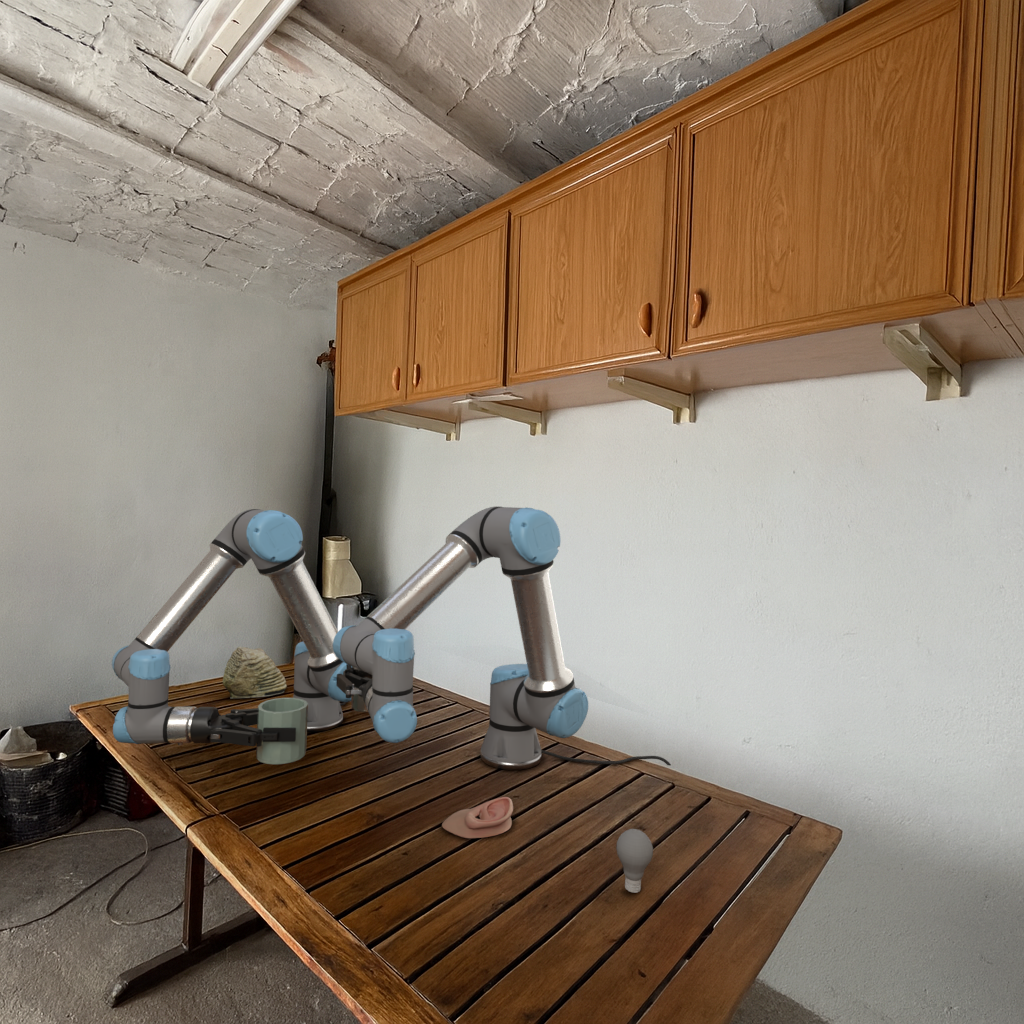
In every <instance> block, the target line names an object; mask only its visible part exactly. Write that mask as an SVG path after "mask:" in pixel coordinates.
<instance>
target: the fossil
mask: <svg viewBox="0 0 1024 1024" xmlns="http://www.w3.org/2000/svg"><path fill="white" fill-rule="evenodd" d="M222 676H223V677H222V685H223V687H224V688H225V690H226V691H228V693H229V698H230V699H250V698H264V697H271V696H275V695H281V694H284V693H285V691H286V689H287V687H288V686H287V680H286V678H285V676H284V674H283V673H282V672H281V669H279V668H278V667H277V665H276V663H275V662H274V660H273V659H272V658H271V657H270V656H269V655H268V654H267V653H266V652H265V650H264V649H263V648H260V647H258V648H251V647H247V646H246V647H245V646H238V647H237V648H236V649H235V650H233V651H232V653H231V656H230V657H229V659H228V660H227V663H226V666H225V668H224V671H223V675H222Z"/></svg>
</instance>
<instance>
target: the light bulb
mask: <svg viewBox="0 0 1024 1024" xmlns="http://www.w3.org/2000/svg"><path fill="white" fill-rule="evenodd" d="M615 849H616V854H617V857H618V859H619V861H620V863H621V865H622V867H623V873H624V874H623V875H624V876H625V878H624V888H625V890H627V891H628V892H630V893H634V894H635V893H639V892H640V891H641V889H642V887H641V886H642V879H643V877H644V875H645V871H646V868H647V867H648V866H649V864H650V863H651V861H652V859H653V855H654V847H653V843H652V841H651V838H649V836H648V835H647V834H646V833H645V832H643V831H642V830H641V829H636V828H629V829H627V830H625V831H623V832H622V833H621V834H620V835H619V837H618V839H617V841H616V847H615Z"/></svg>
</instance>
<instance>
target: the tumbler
mask: <svg viewBox="0 0 1024 1024" xmlns="http://www.w3.org/2000/svg"><path fill="white" fill-rule="evenodd" d="M352 669H353V674H355V675H357V676H359V677H362V678H365V677H367V678H370V679H372V678H373V675H371V674H369V673H366V672H364V671H362V670H361V669H358V668H356V667H353V666H352ZM350 707H351V709H352V710H353V711H355V712H359V713H369V712H368V710H367V708H366V705H365V703H364V701H363V697H361V696H359V694H354V696H352V697H351V701H350Z"/></svg>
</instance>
